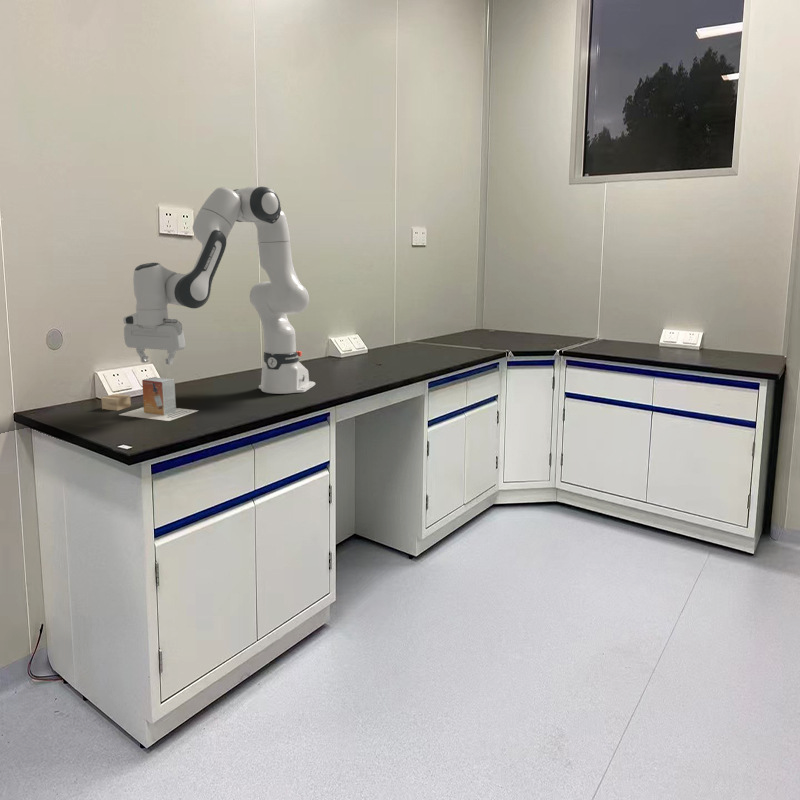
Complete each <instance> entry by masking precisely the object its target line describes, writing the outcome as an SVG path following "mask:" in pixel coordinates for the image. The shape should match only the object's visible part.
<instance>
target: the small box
mask: <svg viewBox="0 0 800 800" xmlns="http://www.w3.org/2000/svg"><path fill="white" fill-rule="evenodd" d="M141 381H142V382H141V383H142V397H143V398H142V399H143V401H142V402H143V407H144V412H146V413H153V414H159V415H167V414H170V413H173V412H176V408H177V403H176V402H177V401H176V384H175V379H174V378H164V377H157V376H153V377H149V378H144V379H141Z"/></svg>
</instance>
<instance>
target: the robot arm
mask: <svg viewBox="0 0 800 800" xmlns="http://www.w3.org/2000/svg"><path fill="white" fill-rule="evenodd" d="M281 207H282V206H281V201H280V199H279V196H278V194H277V193H276V192H275V191H274V189H272V188H269V187H265V186H248V187H247V186H246V187H245V188H239V189H238V188H237V189H236V188H235V189H231V188H229V187H225V186H224V187H223V186H220V187H217V188H215V190H213V191H212V193H211V194H209V195H208V197H207V198H206V199H205V201H204V202H203V204H202V206H201V207H200V209H199V210H198V212H197V214H196V216H195V218H194V221H193V225H192V231H193V232H192V233H193V234H194V236H195V238H196V240H197V241H198V242H200V243H201V246H202V247H201V250H200V252H199V255H198V257H197V260H196V261H195V264H194V267H193V268H192V270H190V271H188V272H187V273H178V272H175V271H172V270H171V269H168V268H166V267H164V266H163V265H161V263H159V262H149V263H143V264H142V263H141V264H140V265H137V266H136V267H135V268H134V271H133V292H134V297H135V299H136V305H135V312H134V313H132V314H129V315H127V316H124V317H123V318H122V321H123V324H124V328H123V336H124V343H125V346H126V348H129V349H130V348H131V349H132V348H133V349H134V348H135V349H136V354H138V356H139V358H140V363H144V364H145V363H149V356H148V355H146V353H145V350H146V349H147V350H148V349H149V350H162V351H163V350H164V351H166V352H167V354H168V356H167V358H165V359H164V360H165V364H166V365H169V366H170V365H173V364H174V357H175V356H176V353H177V352H178V351H182V350H184V349H185V348H186V339H185V333H184V330H183V324H182V322H180V321H179V320H178V319H177V318H173V319H172V318H169V311H168V304H170V305H175V306H180V307H187V308H189V309H198V308H201V307H203V306H204V305H206V303H207V302H208V300H209V299H210V295H211V290H212V289H211V288H212V284H213V280H214V277H215V274H216V272H217V270H218V268H219V265H220V263H221V260H222V258H223V256H224V254H225V253H224V252H225V250H226V247H227V240H228V236H229V235H230V232H231V231H232V229H233V227H234V226H235V224H236V222H238V223H254V225H255V227H256V229H257V230H256V231H257V244H258V257H259V265H260V267H261V268H262V269H263V270H264V271H265V272H266V274H267V276H268V278H269V281H267V280H266V281H261V282H258V283H255V284H254V285H253V286H252V287H251V289H250V291H249V301H250V303H251V305H252V306H253V307H254V309H256V311H257V313H258V316H259V319H260V321H261V326H262V329H263V336H264V337H263V338H264V340H263V341H264V351H263V362H264V364H263V365H262V367H261V379H260V380H261V381H260V384H258V389H259V390H261V392H263V393H265V394H280V395H281V394H284V395H287V394H295V393H299V394H300V393H305V392H307V391H308V390H310V389H311V388H313V387H315V385H316V382H315V381H311V380H310V377H309V376H310V374H309V369H307V368H306V367H305V366H304V365H303V364H302V363H301V362H300V357H302V355H303V351H301V350H299V351H298V350H297V346H296V345H297V344H296V343H297V341H296V340H297V339H296V337H297V336H296V329H295V328H294V327H293V325H292V324H291V323H290V320H289V319H288V315H295V314H296V315H297V314H301V313H303V312H305V311H306V310H307V308H308V306H309V303H310V295H309V292H308V290H307V288H306V287H305V286H304V285H303V284H302V283H301V282H300V279H299V277H298V275H297V273H296V269H295V268H294V267H295V266H294V263H293V255H292V246H291V234H290V229H289V224H288V223H289V222H288V220H287V219H288V218H287V216H286V213H285V212H284V211H283V210H282V208H281ZM176 351H177V352H176Z"/></svg>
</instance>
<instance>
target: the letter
mask: <svg viewBox="0 0 800 800" xmlns="http://www.w3.org/2000/svg"><path fill="white" fill-rule="evenodd" d="M198 411H199V410H196V409H188V408H180V407H178V408H177V407H176V412H173V413H170V414H167V415H159V414H153V413H146V412H144V406H142V407H140V408H136V409H132V410H130V411H126V412H123V413H119V414H118V416H126V417H133V418H135V417H136V418H140V419H151V420H159V421H166V422H170V421H173V420H176V419H179V418H181V417H185V416H188V415H190V414H193V413H196V412H198Z"/></svg>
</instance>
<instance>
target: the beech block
mask: <svg viewBox="0 0 800 800" xmlns="http://www.w3.org/2000/svg"><path fill="white" fill-rule="evenodd" d="M131 402H132V401H131V395H127V394H118V393H114V394H111V395H107V396H102V397H101V410H108V411H120V410H124V409H127V408H131V407H132V403H131Z"/></svg>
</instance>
